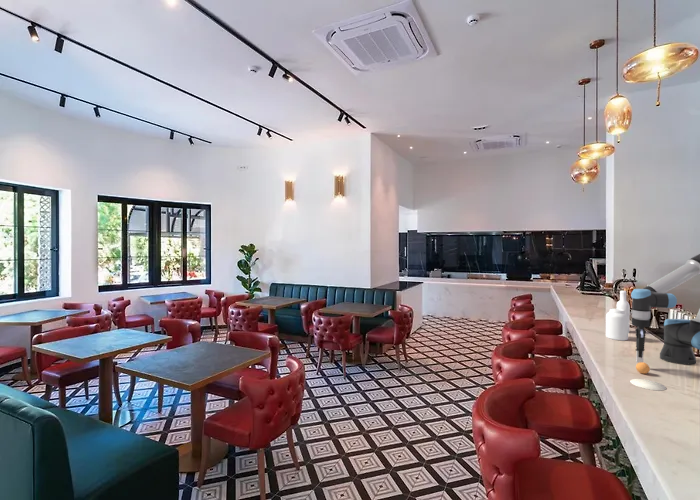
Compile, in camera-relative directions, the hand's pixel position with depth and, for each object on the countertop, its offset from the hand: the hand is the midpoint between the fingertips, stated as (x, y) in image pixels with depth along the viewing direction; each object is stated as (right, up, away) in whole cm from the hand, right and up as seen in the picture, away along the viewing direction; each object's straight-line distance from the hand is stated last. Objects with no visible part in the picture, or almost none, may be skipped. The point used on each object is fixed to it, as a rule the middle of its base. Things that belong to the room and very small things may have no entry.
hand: (639, 362), depth 191 cm
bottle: (+47, 0, +74) cm, 88 cm away
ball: (-5, 0, -8) cm, 9 cm away
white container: (+30, -1, +57) cm, 64 cm away
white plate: (-14, -3, -22) cm, 27 cm away
